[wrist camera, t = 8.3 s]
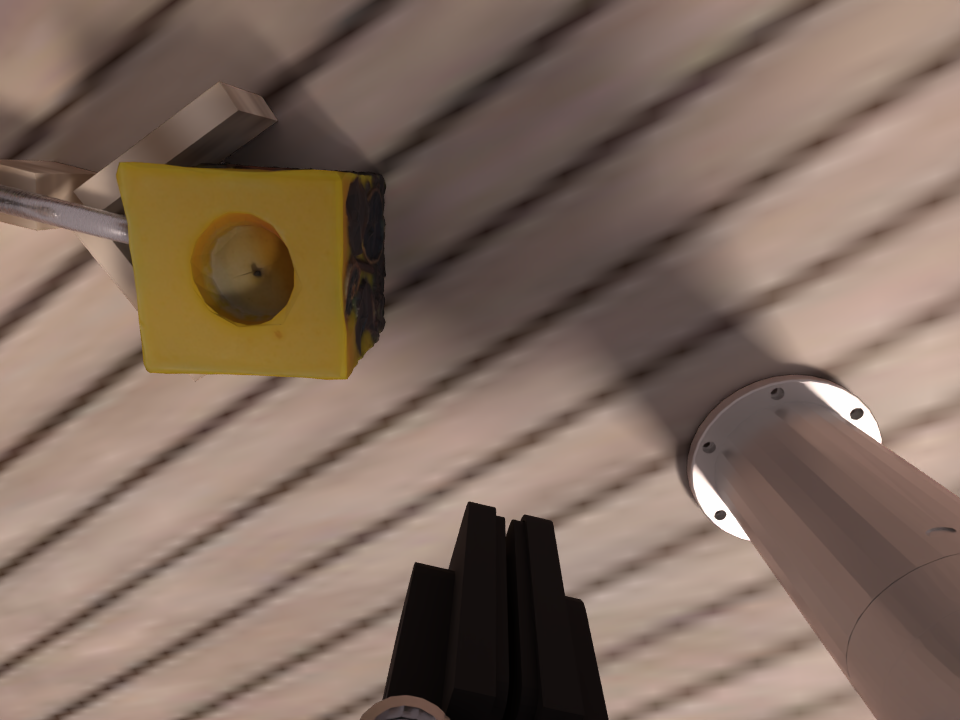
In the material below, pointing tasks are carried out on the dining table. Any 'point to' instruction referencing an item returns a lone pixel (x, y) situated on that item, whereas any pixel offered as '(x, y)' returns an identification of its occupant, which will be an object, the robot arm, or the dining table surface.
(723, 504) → the robot arm
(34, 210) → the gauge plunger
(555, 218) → the dining table surface
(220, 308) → the candle
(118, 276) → the centring jig
